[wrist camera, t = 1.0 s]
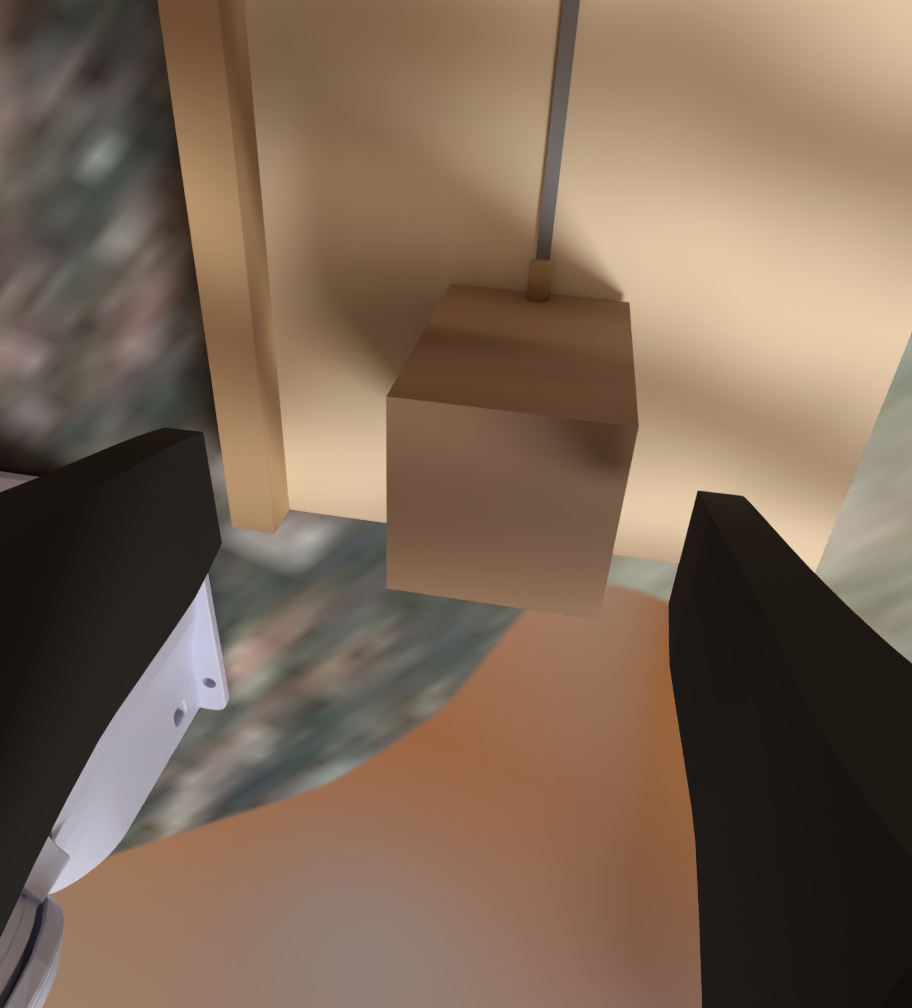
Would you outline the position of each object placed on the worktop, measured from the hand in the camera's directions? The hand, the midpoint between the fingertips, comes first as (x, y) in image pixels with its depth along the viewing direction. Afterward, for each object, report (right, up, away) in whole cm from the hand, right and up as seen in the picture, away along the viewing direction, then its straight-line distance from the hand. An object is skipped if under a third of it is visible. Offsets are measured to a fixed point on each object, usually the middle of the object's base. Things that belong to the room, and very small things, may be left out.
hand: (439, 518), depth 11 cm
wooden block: (+2, +3, +7) cm, 8 cm away
